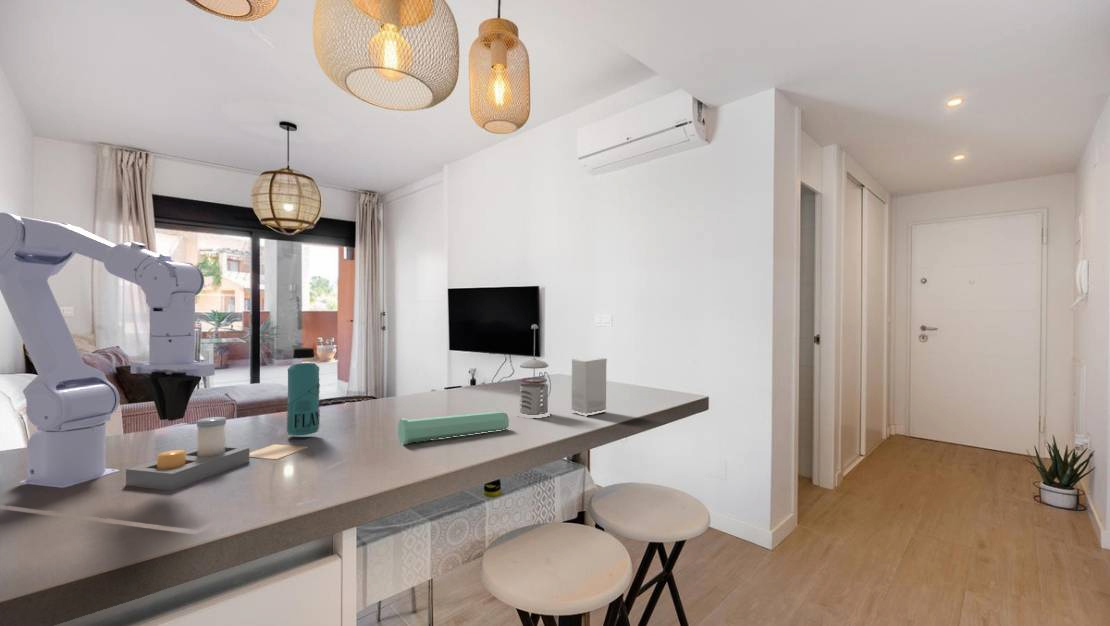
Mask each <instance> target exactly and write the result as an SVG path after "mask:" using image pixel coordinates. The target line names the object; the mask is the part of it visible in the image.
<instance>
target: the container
mask: <svg viewBox="0 0 1110 626" xmlns="http://www.w3.org/2000/svg"><path fill="white" fill-rule="evenodd" d="M509 422H510V419H509V416H508V413H505V412H503V411H500V410H499V411H498V410H497V411H487V412H477V413H465V414H456V415H455V414H454V415H446V416H444V415H443V416H435V417H432V416H431V417H421V418H414V419H413V418H412V419H407V418H405V417H402V418H401V417H400V419H399V422H398V429H397V430H398V431H397V435H398V440H399V441H400V442H401V443H402V444H403V445H402V444H401V443H400V442H399V443H400V444H401V445H402V446H406V445H405V444H407V445H408V444H413V443H412V442H416V443H421V442H420V441H424V442H427V441H426V440H431V439H439V438H446V437H453V436H460V435H468V434H475V433H481V432H488V431H496V430H503V429H506V428H507V429H508V428H509V427H510V425H509V424H510V423H509ZM507 429H506V430H507Z"/></svg>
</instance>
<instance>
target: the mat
mask: <svg viewBox="0 0 1110 626" xmlns="http://www.w3.org/2000/svg"><path fill="white" fill-rule="evenodd" d="M305 449H308V446H299V445H291V444H289V445H285V444H276V443H274V444H271V445H269V446H265V447H262V448H260V449H257V450H254V451H251V452H250V451H249V459H259V460H260V459H261V460H272V461H277V460H280V459H284V458H285V457H288V456H290V455H293V454H295V453H298V452H300V451H304V450H305Z"/></svg>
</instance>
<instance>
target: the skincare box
mask: <svg viewBox="0 0 1110 626" xmlns="http://www.w3.org/2000/svg"><path fill="white" fill-rule="evenodd" d="M607 363H608V362H607V358H605V357H598V356H597V357H596V356H587V357H577V358H571V410H574V411H578V412H581V413H586V414H587V413H592V412H597V411H602V410H605V409H606V410H607Z"/></svg>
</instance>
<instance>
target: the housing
mask: <svg viewBox="0 0 1110 626" xmlns="http://www.w3.org/2000/svg"><path fill="white" fill-rule="evenodd" d="M185 451H186V465H183V466H180V467H177V468H174V469H170V470H163V469H157V459H156V460H152V461H149V462H146V463H141V464H139V465H134V466H132V467H129V468H126V469H125V486H130V487H138V488H146V489H156V490H157V489H158V490H163V491H164V490H165V491H174V490H176V489H177V490H178V489H180V488H182V487H185V486H188V485H191V484H193V483H195V482H199V481H201V480H204V479H206V478H209V477H212V476H215V475H217V474H220V473H222V472H225V471H228V470H231V469H233V468H237V467H239V466H242V465H244V464H247V463H249V462H250V458H249V453H250V447H245V446H244V447H243V446H232V445H225V453H222V454H219V455H216V456H213V457H199V456H197V447H196V448H193V449H189V450H185Z"/></svg>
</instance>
